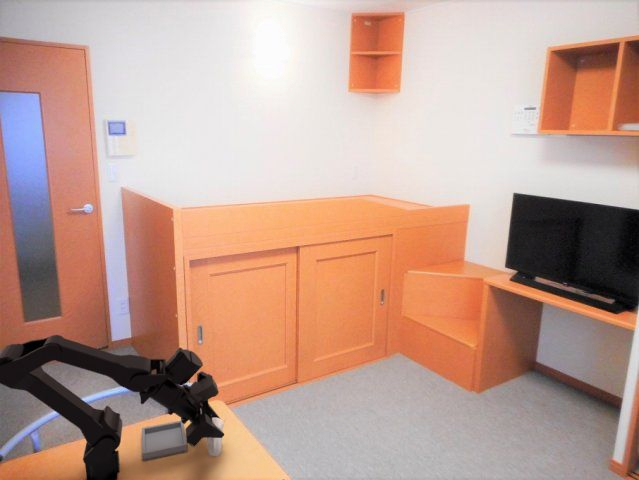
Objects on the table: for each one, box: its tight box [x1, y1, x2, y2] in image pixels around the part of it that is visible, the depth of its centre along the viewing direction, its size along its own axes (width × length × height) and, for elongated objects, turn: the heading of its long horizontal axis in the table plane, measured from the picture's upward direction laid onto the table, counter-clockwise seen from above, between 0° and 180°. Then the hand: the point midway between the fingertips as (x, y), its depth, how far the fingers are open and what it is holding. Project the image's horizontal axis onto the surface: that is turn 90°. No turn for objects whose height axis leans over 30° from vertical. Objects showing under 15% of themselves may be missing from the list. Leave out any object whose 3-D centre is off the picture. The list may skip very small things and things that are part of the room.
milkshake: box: [205, 417, 227, 457], centre depth 115 cm, size 4×5×10 cm
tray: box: [141, 420, 188, 462], centre depth 119 cm, size 10×10×2 cm
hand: (221, 428), depth 115 cm, fingers open, 6 cm apart
